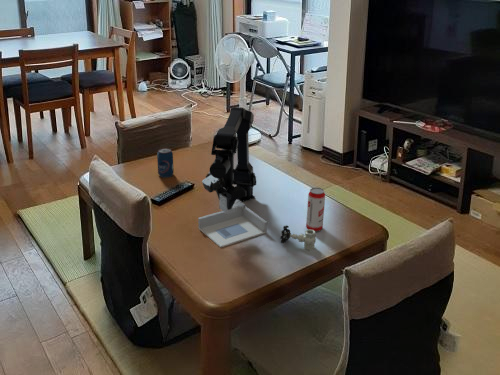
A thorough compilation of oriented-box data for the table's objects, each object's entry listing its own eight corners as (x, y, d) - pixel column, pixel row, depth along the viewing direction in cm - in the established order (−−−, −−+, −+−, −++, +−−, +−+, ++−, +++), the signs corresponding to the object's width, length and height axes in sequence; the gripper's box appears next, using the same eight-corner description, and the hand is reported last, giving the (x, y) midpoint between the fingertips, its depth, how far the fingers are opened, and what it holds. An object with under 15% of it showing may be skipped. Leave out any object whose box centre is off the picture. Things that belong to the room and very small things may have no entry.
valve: (317, 244, 207) (286, 237, 211) (318, 228, 204) (286, 221, 208) (312, 253, 201) (279, 246, 206) (313, 237, 199) (280, 230, 203)
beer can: (324, 226, 219) (327, 188, 212) (320, 234, 214) (323, 195, 207) (308, 223, 221) (310, 185, 214) (304, 231, 215) (306, 192, 208)
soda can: (156, 177, 256) (154, 152, 251) (160, 171, 262) (159, 146, 257) (171, 178, 255) (170, 153, 250) (175, 172, 261) (174, 147, 256)
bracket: (226, 213, 206) (226, 198, 203) (219, 208, 209) (219, 193, 207) (245, 208, 210) (245, 193, 207) (238, 203, 213) (238, 188, 211)
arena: (243, 215, 226) (243, 204, 224) (266, 232, 214) (267, 221, 212) (198, 228, 216) (198, 217, 214) (220, 247, 204) (220, 236, 202)
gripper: (192, 162, 203) (193, 201, 210) (219, 181, 189) (219, 223, 196) (219, 156, 209) (219, 194, 216) (247, 174, 195) (246, 214, 202)
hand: (225, 206), depth 207 cm, fingers closed on bracket, 5 cm apart
